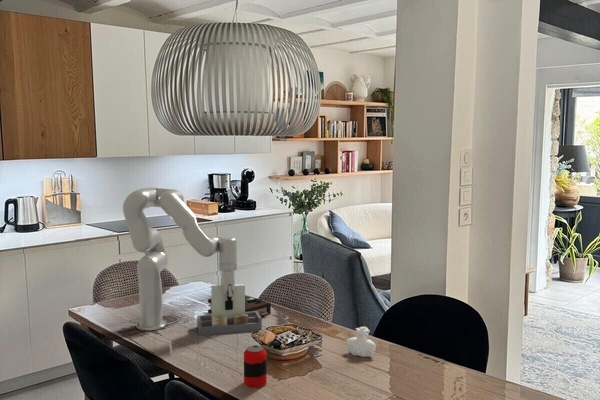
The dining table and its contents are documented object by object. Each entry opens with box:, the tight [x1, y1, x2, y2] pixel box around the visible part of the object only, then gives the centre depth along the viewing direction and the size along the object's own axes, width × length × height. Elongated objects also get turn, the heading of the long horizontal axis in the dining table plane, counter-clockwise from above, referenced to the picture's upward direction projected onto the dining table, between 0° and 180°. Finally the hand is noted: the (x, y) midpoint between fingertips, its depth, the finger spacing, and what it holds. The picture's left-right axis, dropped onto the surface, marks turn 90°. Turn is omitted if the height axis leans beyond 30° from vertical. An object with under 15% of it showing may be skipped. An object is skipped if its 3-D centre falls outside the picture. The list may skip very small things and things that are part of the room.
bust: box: [345, 326, 377, 358], centre depth 215 cm, size 12×8×11 cm
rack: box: [196, 311, 263, 336], centre depth 240 cm, size 26×10×6 cm, turn 105°
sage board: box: [210, 283, 246, 319], centre depth 242 cm, size 14×2×18 cm, turn 105°
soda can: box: [243, 345, 268, 389], centre depth 188 cm, size 8×8×12 cm
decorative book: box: [207, 294, 272, 318], centre depth 264 cm, size 19×8×30 cm
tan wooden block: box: [233, 314, 248, 324], centre depth 239 cm, size 6×3×6 cm, turn 105°
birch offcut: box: [212, 316, 227, 326], centre depth 237 cm, size 6×3×6 cm, turn 105°
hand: (228, 307), depth 242 cm, fingers open, 3 cm apart
